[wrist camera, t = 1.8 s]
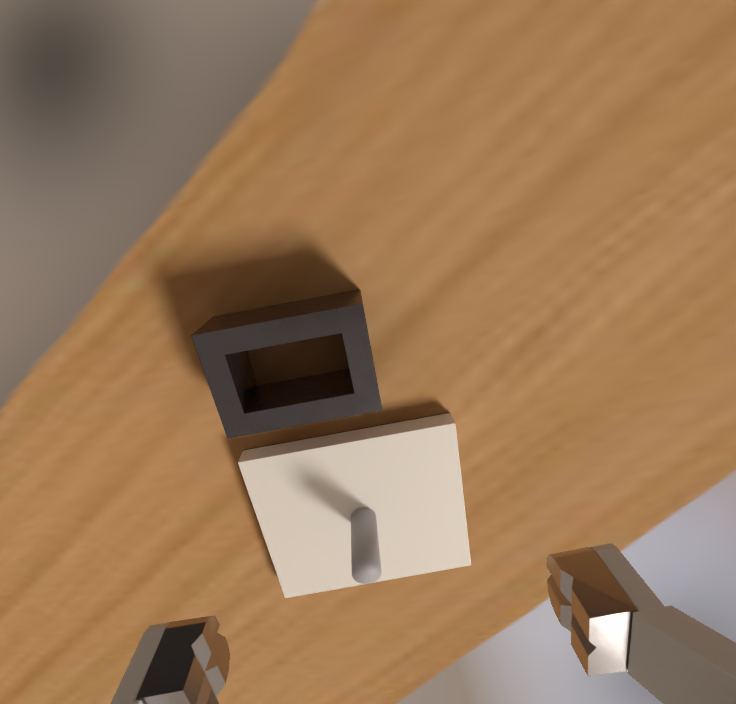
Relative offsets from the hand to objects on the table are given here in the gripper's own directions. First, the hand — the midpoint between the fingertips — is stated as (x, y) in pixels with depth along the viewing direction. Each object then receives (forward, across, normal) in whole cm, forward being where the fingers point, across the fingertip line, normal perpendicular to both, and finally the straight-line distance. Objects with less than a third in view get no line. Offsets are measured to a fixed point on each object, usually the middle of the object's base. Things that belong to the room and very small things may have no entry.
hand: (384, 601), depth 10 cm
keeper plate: (+19, +2, +14) cm, 24 cm away
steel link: (+19, +4, 0) cm, 20 cm away
